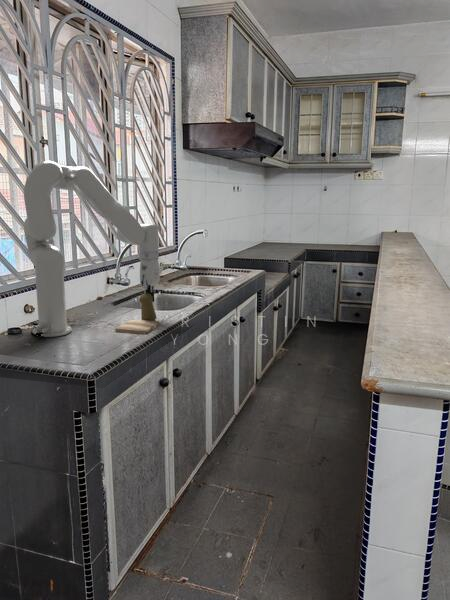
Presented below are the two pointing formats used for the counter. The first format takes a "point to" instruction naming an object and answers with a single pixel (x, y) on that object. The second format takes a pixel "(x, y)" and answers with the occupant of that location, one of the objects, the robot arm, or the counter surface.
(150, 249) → the robot arm
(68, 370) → the counter surface
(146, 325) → the cutting board
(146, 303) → the olive pepper shaker
